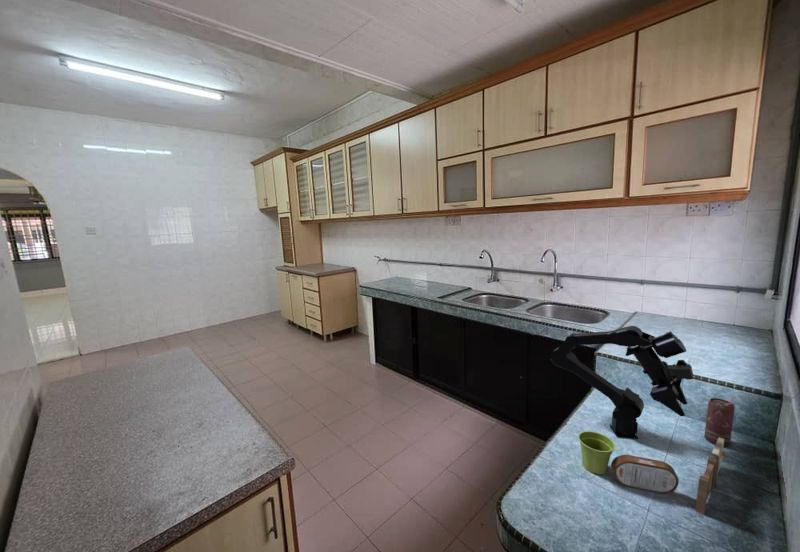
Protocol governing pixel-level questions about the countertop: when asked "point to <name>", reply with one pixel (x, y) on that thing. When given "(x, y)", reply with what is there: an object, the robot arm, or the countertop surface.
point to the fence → (706, 485)
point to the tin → (644, 473)
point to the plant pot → (595, 451)
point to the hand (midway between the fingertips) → (684, 409)
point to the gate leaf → (718, 455)
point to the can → (719, 421)
